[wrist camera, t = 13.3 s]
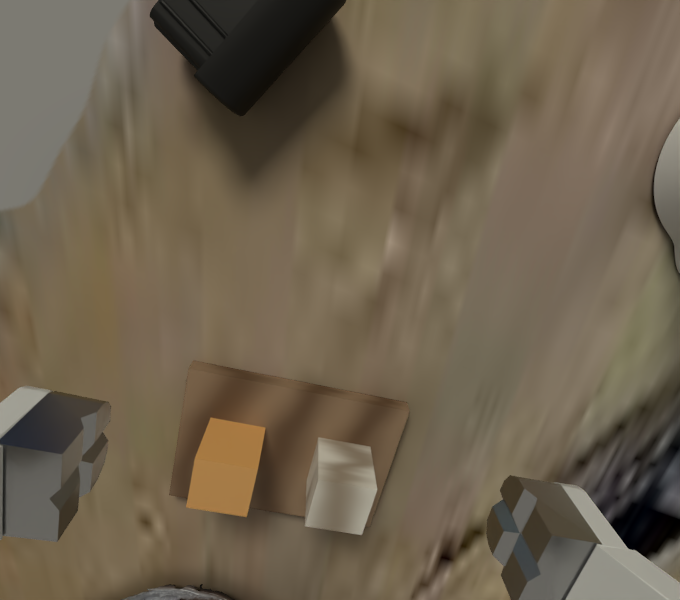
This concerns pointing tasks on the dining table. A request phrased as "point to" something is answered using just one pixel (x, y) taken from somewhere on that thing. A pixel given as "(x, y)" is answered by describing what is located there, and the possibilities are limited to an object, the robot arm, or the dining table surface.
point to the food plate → (179, 594)
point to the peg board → (297, 443)
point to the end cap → (241, 41)
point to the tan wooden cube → (226, 467)
